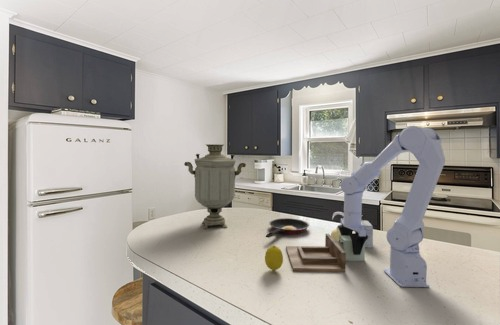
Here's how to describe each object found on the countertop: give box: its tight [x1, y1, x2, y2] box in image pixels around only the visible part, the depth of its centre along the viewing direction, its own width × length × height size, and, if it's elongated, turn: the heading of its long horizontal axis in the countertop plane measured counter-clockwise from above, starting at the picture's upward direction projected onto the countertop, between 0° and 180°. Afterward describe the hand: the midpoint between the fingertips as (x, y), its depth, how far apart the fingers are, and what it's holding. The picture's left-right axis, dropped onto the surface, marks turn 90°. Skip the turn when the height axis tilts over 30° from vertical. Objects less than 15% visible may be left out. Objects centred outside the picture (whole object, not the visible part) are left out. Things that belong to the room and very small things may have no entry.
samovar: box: [184, 143, 247, 230], centre depth 128 cm, size 30×26×40 cm
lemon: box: [264, 245, 284, 272], centre depth 79 cm, size 6×6×8 cm
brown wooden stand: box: [285, 233, 347, 273], centre depth 88 cm, size 18×16×6 cm
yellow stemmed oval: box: [330, 211, 344, 243], centre depth 106 cm, size 6×5×12 cm
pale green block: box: [338, 235, 366, 262], centre depth 89 cm, size 5×8×7 cm, turn 89°
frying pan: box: [265, 217, 310, 238], centre depth 115 cm, size 19×32×4 cm, turn 149°
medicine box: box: [361, 219, 374, 249], centre depth 102 cm, size 8×4×9 cm, turn 168°
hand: (351, 249), depth 89 cm, fingers open, 7 cm apart
